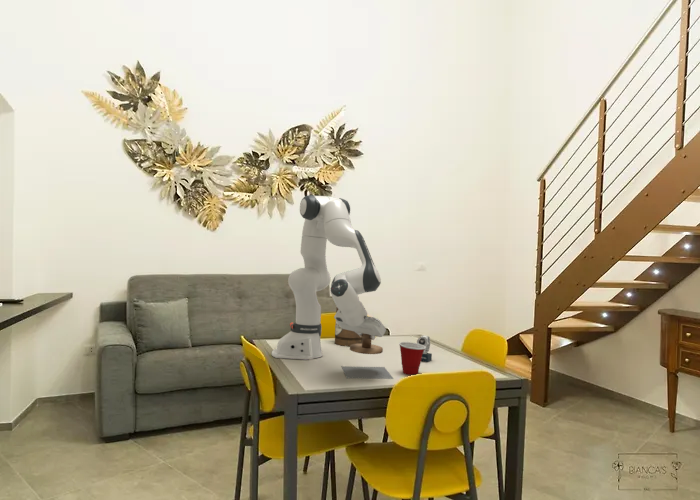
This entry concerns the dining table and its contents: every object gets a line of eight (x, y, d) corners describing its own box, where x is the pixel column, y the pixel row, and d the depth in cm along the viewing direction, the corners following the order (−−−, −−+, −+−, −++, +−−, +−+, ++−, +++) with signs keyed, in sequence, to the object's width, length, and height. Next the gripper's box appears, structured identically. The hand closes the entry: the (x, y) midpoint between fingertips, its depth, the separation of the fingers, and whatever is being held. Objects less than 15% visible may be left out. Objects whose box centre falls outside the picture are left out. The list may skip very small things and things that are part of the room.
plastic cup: (423, 378, 208) (425, 347, 208) (395, 375, 210) (397, 345, 210) (425, 372, 219) (426, 342, 218) (398, 369, 221) (400, 340, 220)
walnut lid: (352, 353, 205) (354, 332, 204) (347, 345, 217) (349, 325, 217) (385, 354, 207) (387, 333, 206) (378, 347, 219) (380, 327, 219)
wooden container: (335, 340, 277) (337, 297, 277) (364, 341, 277) (366, 299, 276) (333, 345, 262) (335, 300, 262) (363, 347, 262) (366, 302, 261)
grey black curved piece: (414, 360, 238) (415, 336, 238) (421, 357, 245) (422, 333, 244) (425, 363, 235) (427, 338, 235) (433, 359, 242) (434, 335, 241)
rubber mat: (346, 379, 202) (346, 378, 202) (341, 367, 220) (341, 366, 220) (393, 379, 204) (393, 378, 204) (384, 367, 222) (384, 367, 222)
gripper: (381, 312, 200) (393, 335, 208) (338, 304, 212) (351, 326, 220) (373, 325, 196) (386, 348, 204) (330, 316, 209) (344, 338, 217)
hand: (368, 337), depth 212 cm, fingers closed on walnut lid, 4 cm apart
